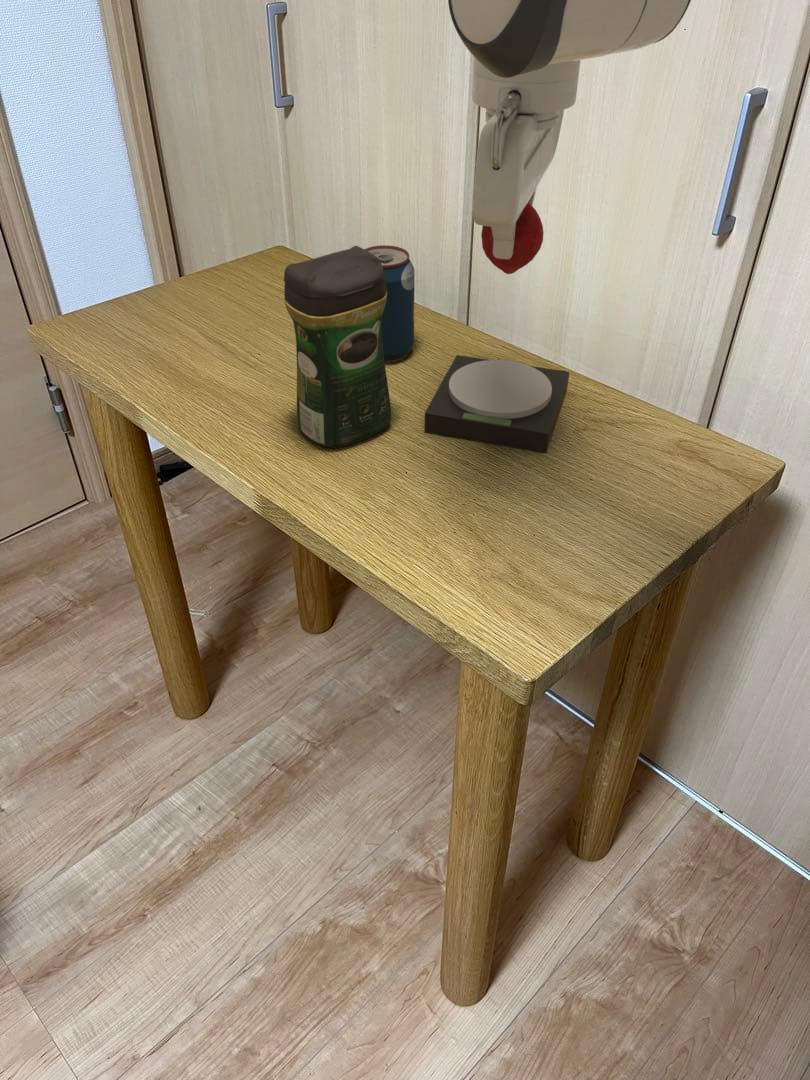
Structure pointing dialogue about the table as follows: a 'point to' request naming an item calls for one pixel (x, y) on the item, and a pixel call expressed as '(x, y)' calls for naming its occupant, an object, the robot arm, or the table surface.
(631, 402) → the table surface
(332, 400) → the coffee jar
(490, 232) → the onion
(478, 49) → the robot arm
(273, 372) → the table surface
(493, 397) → the scale
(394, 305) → the soda can
